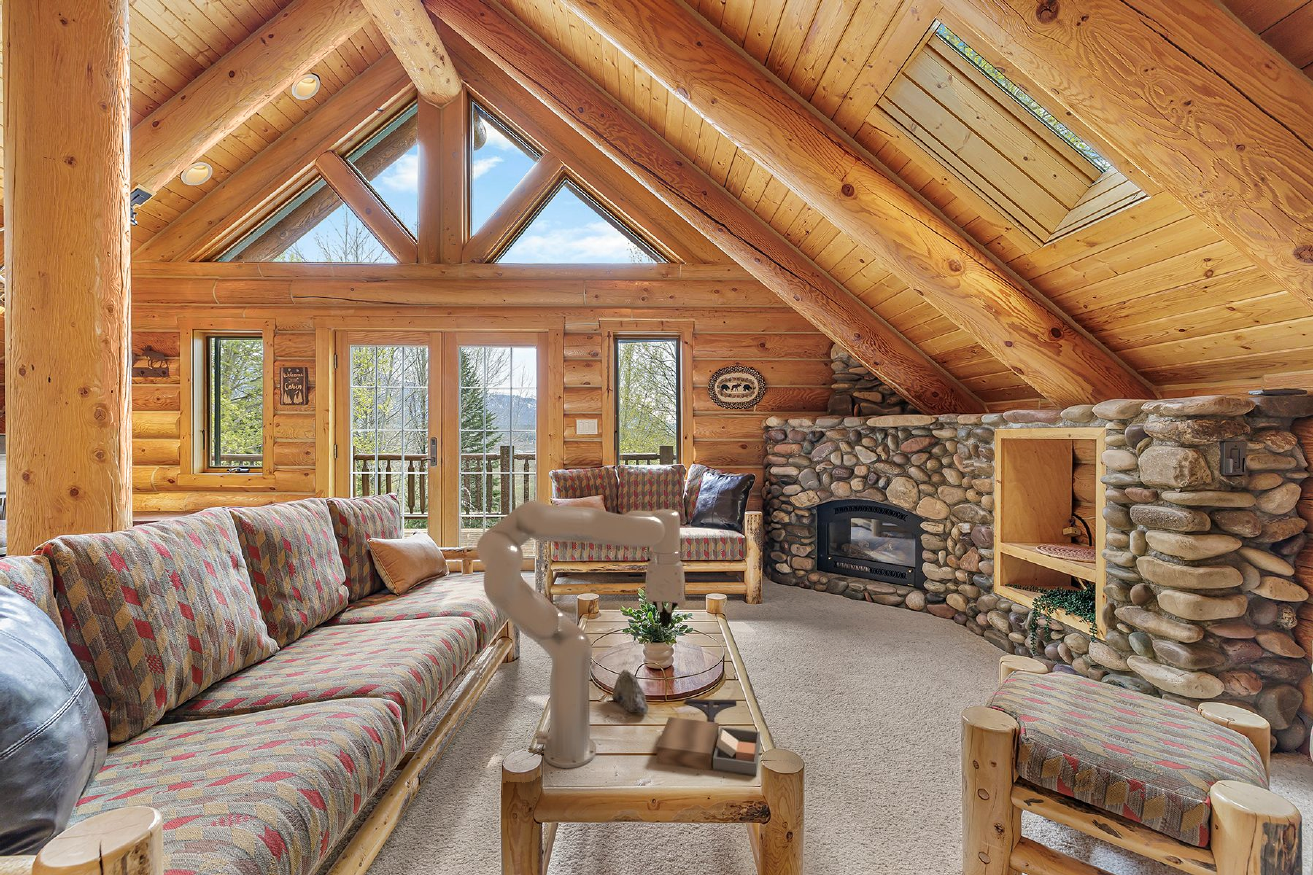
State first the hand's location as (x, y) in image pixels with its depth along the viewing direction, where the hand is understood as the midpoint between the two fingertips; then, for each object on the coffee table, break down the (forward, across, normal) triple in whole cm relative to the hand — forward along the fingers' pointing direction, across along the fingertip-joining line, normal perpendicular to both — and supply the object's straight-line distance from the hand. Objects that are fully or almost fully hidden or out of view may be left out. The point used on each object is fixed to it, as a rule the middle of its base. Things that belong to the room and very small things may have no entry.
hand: (665, 625), depth 160 cm
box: (+27, +20, -10) cm, 35 cm away
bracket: (+28, +11, +8) cm, 31 cm away
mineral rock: (+27, -12, +7) cm, 31 cm away
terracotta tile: (+25, +22, -10) cm, 35 cm away
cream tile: (+25, +17, -10) cm, 32 cm away
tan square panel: (+27, +8, -10) cm, 30 cm away
